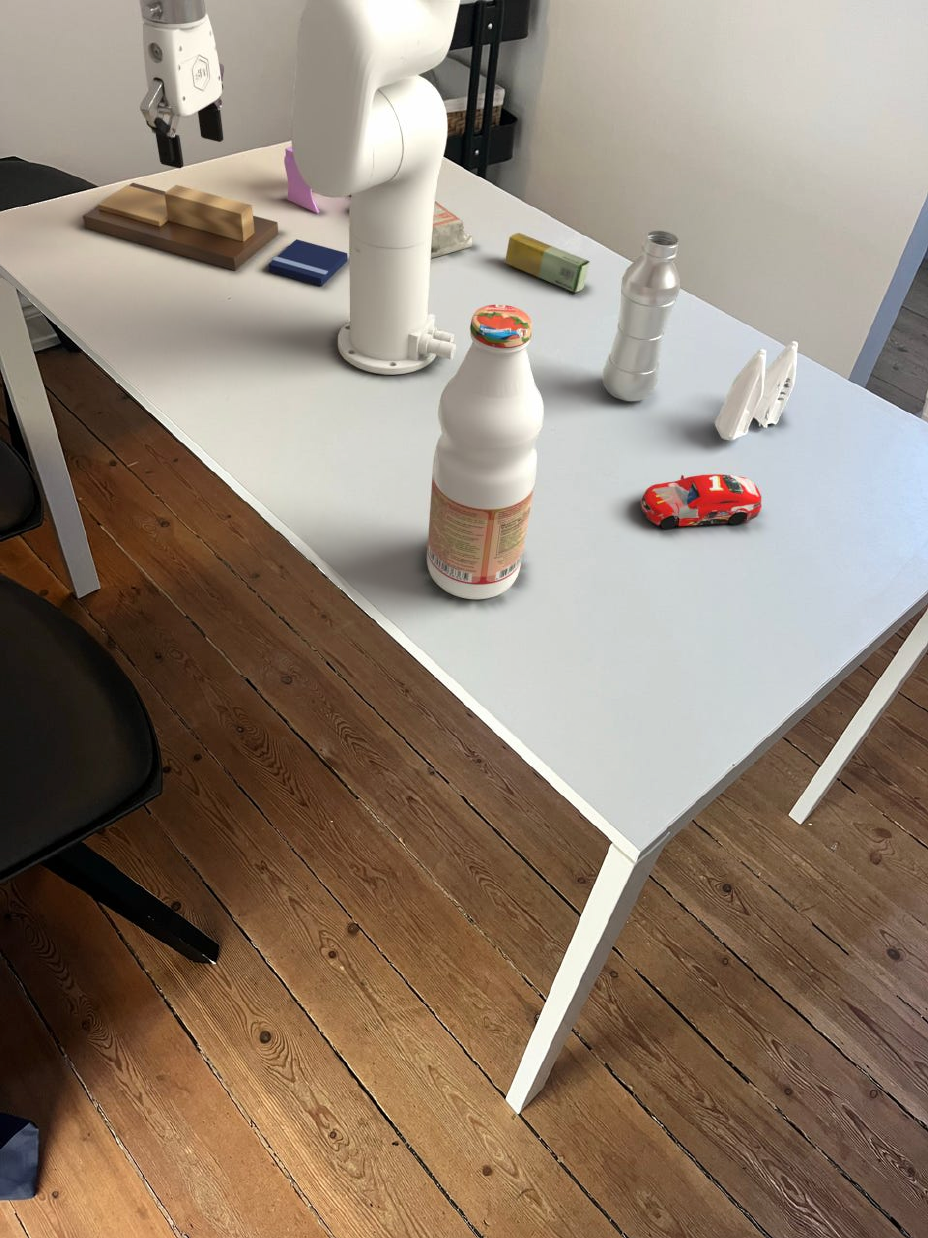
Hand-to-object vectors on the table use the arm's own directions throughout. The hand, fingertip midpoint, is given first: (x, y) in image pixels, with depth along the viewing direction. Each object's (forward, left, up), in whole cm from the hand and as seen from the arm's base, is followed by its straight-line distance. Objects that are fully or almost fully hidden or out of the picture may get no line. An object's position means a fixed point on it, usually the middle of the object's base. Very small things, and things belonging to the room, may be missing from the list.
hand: (192, 151), depth 130 cm
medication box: (-46, -14, -12) cm, 50 cm away
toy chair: (-9, -19, -12) cm, 24 cm away
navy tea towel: (-17, 0, -12) cm, 20 cm away
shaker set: (-80, +8, -12) cm, 81 cm away
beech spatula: (+4, 0, -10) cm, 11 cm away
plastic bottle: (-65, +8, -12) cm, 66 cm away
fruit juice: (-59, +45, -12) cm, 75 cm away
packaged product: (-25, -17, -12) cm, 32 cm away
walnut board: (+3, 0, -12) cm, 12 cm away
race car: (-78, +26, -12) cm, 83 cm away
